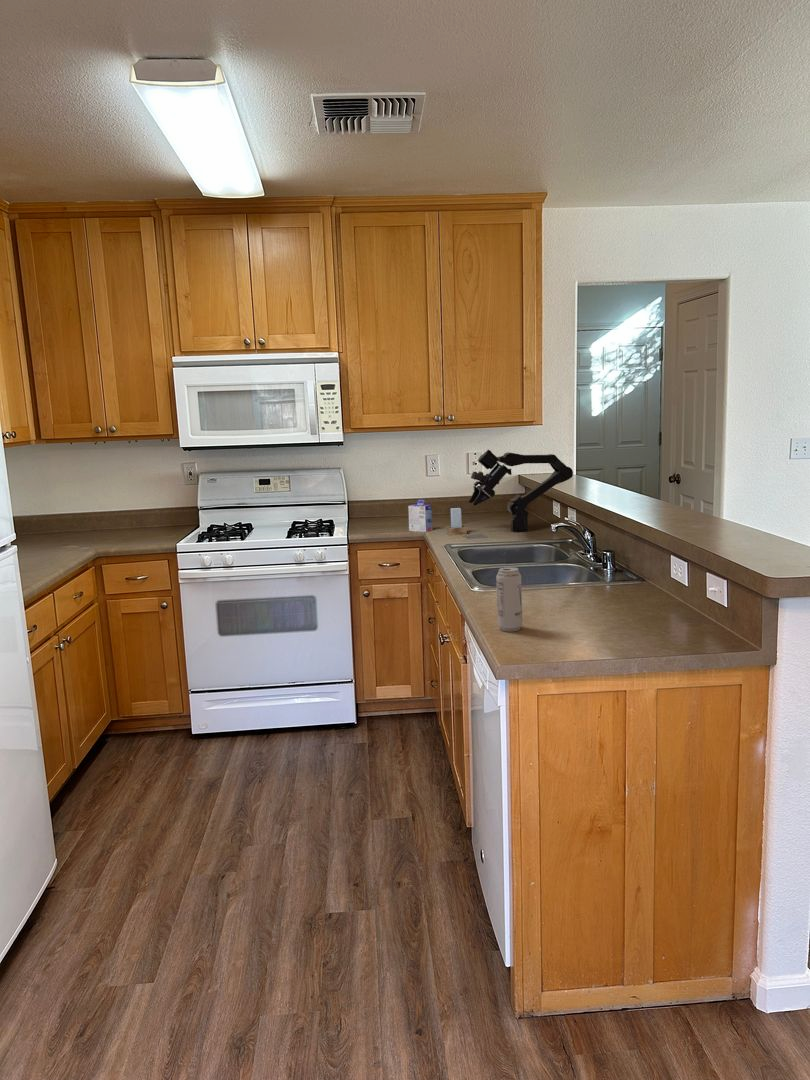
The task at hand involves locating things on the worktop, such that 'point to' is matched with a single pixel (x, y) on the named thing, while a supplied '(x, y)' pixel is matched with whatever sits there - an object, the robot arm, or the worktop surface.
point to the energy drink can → (509, 599)
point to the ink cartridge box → (420, 517)
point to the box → (456, 530)
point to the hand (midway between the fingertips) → (471, 503)
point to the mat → (475, 536)
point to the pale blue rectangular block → (456, 518)
